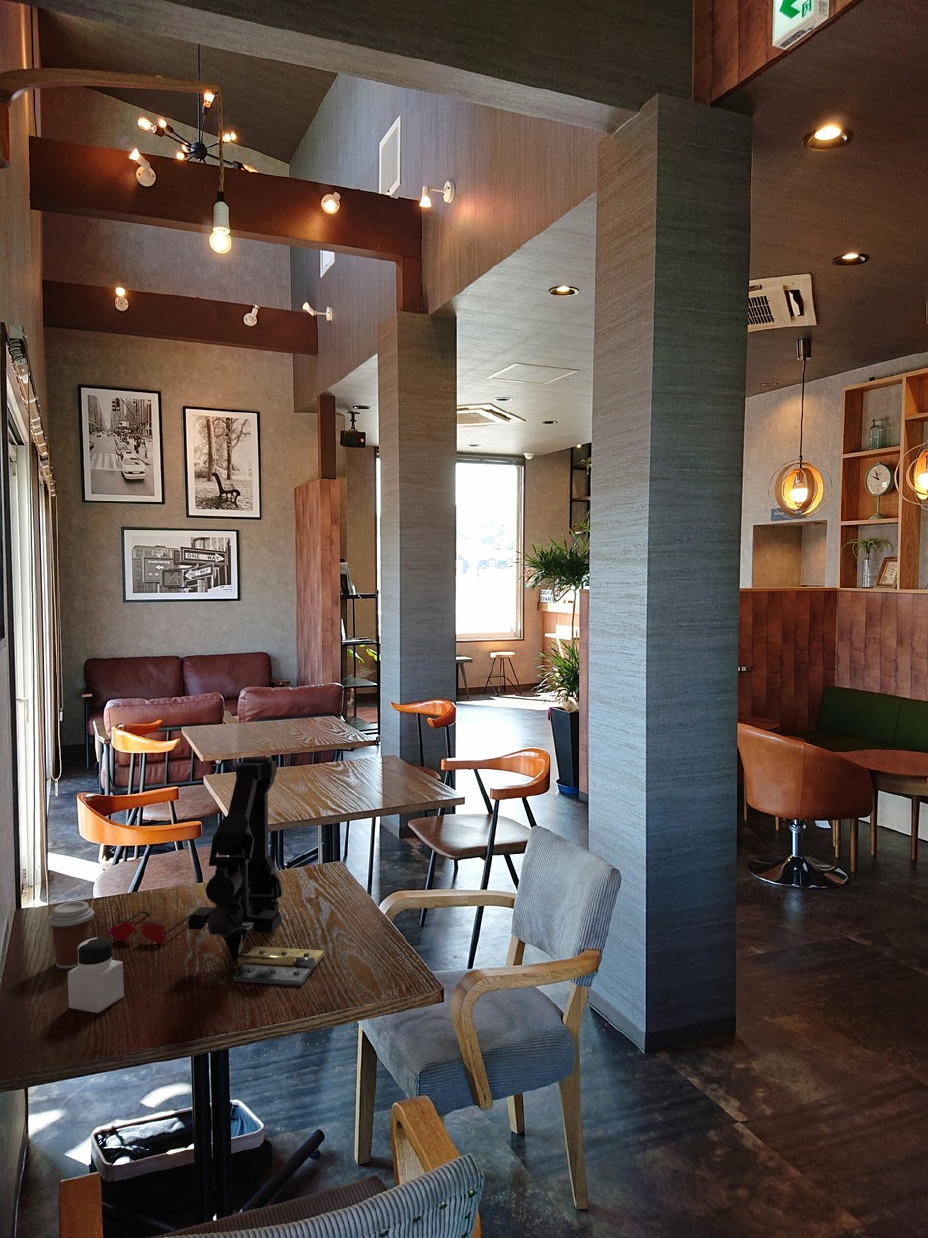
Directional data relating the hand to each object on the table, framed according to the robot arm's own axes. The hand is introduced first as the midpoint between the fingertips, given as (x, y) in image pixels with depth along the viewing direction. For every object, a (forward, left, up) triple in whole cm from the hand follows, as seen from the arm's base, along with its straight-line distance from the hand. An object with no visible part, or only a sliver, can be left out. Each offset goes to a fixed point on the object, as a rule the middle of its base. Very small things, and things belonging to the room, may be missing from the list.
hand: (235, 960), depth 181 cm
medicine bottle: (-20, -19, -2) cm, 28 cm away
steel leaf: (+10, -3, -1) cm, 10 cm away
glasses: (-27, +16, -2) cm, 32 cm away
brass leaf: (+9, +3, -1) cm, 10 cm away
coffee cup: (-36, -3, -1) cm, 36 cm away
